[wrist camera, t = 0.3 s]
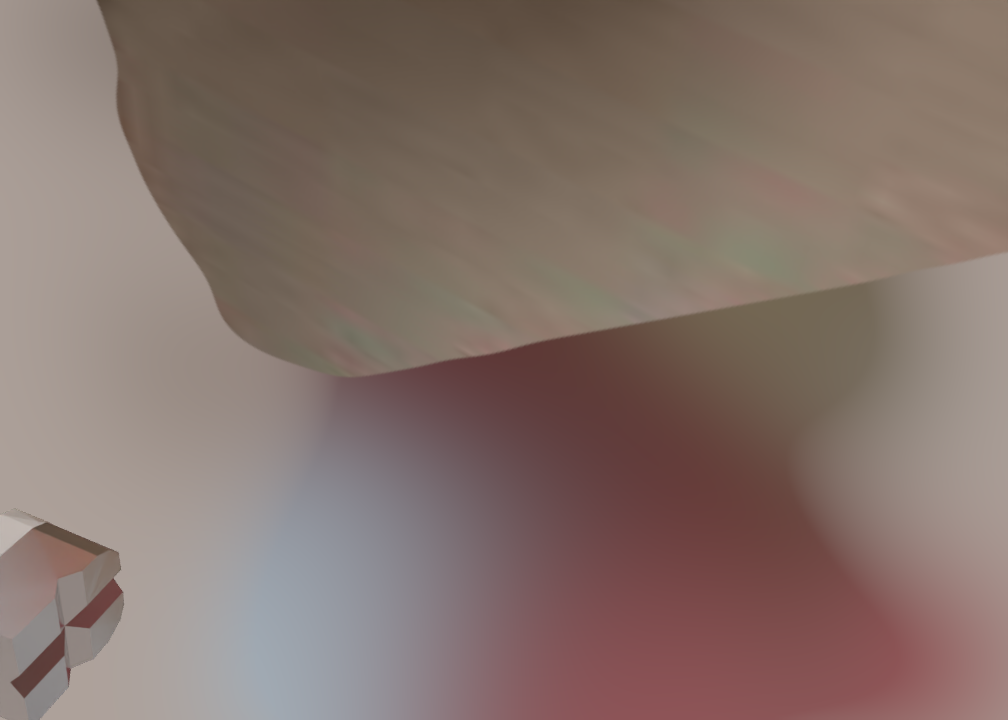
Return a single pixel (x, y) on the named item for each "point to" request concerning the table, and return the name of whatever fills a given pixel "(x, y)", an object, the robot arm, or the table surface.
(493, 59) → the table surface
